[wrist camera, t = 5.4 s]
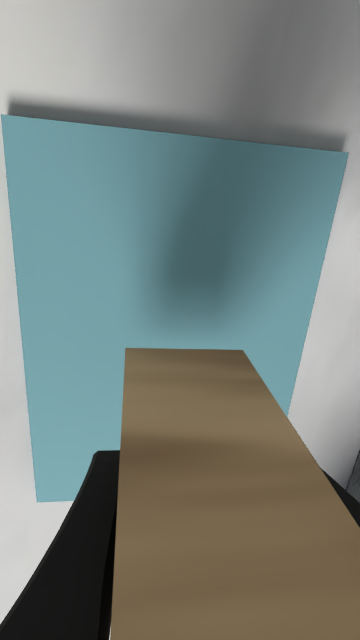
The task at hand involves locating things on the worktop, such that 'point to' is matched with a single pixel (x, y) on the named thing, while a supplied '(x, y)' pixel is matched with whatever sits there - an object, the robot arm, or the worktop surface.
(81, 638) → the robot arm
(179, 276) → the teal mat
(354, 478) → the vise
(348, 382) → the worktop surface
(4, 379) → the worktop surface
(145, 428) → the oak peg
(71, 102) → the worktop surface
